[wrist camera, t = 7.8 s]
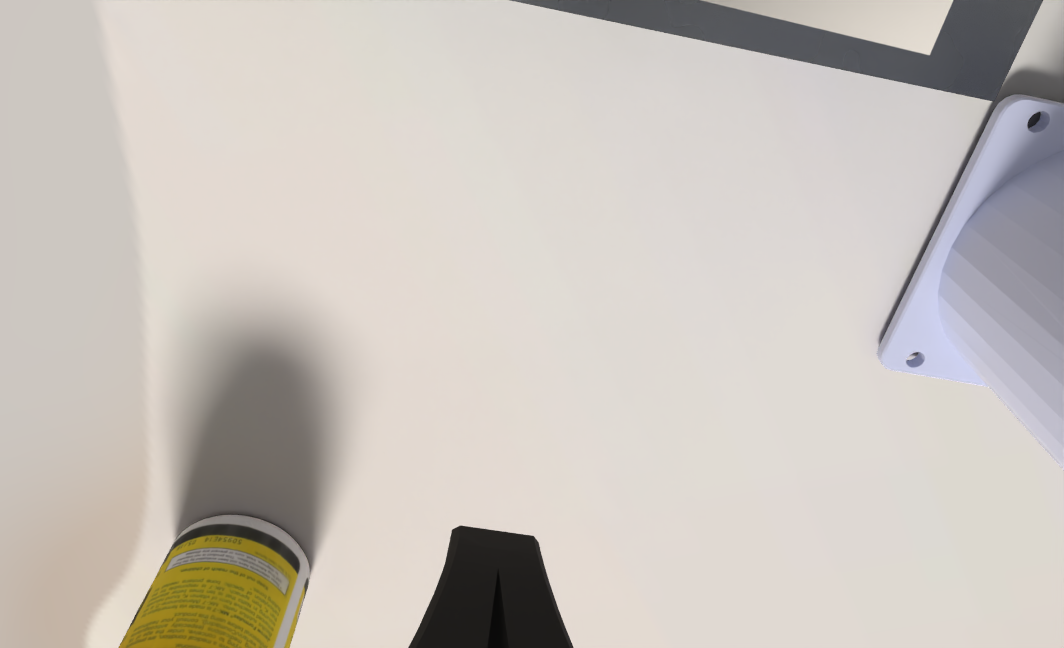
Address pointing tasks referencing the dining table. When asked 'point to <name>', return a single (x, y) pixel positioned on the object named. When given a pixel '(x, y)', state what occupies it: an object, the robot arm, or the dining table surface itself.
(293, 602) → the supplement bottle
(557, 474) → the dining table surface
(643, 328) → the dining table surface
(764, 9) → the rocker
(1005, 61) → the switch panel
